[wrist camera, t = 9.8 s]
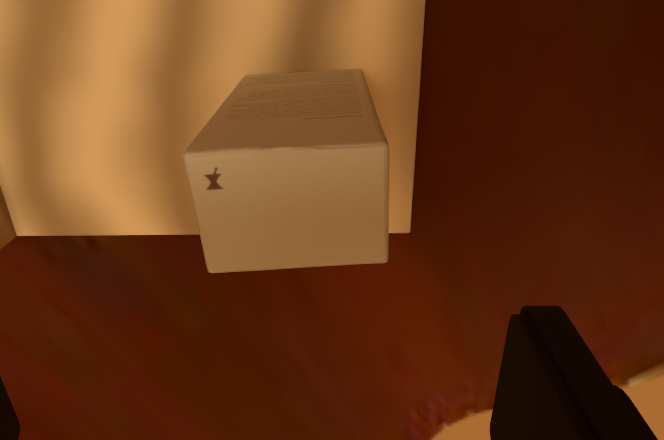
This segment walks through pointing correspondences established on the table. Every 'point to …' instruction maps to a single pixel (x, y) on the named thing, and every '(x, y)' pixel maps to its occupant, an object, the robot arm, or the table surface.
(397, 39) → the board
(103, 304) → the table surface
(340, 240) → the skincare box
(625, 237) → the table surface
